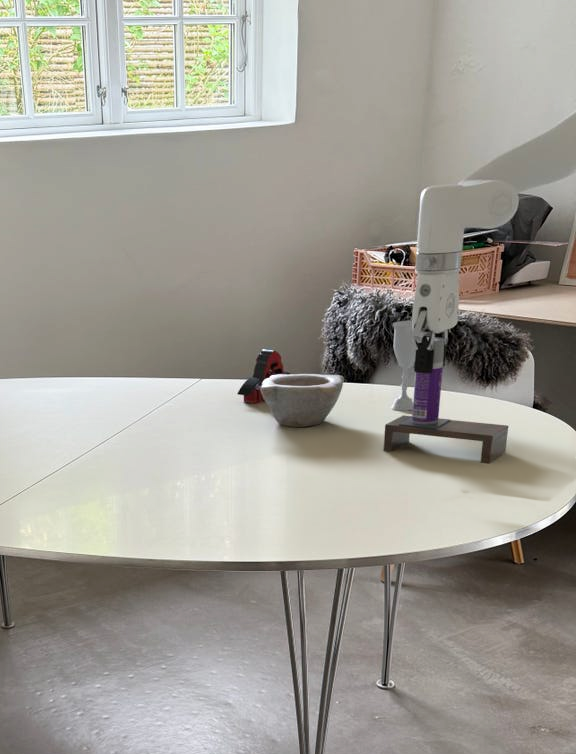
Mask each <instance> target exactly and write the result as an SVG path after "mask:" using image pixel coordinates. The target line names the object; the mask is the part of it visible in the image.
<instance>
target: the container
mask: <svg viewBox="0 0 576 754" xmlns="http://www.w3.org/2000/svg"><path fill="white" fill-rule="evenodd" d="M426 337H427V339H428V340H429V336H426ZM444 345H445V344H444V338H441V337H434V342H433V348H432V350H434V361H433V371H432V372H431V373H417V372H415V371H414V386H413V398H412V402H413V410H412V413H411V416H412V422H413V423H415V424H421V425H429V424H435V423H437V422H438V418H439V416H440V404H441V395H442V394H441V393H442V391H441V390H442V382H443V381H442V380H443V371H444V370H443V369H444V367H443V355H444Z"/></svg>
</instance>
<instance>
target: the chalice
mask: <svg viewBox="0 0 576 754" xmlns="http://www.w3.org/2000/svg"><path fill="white" fill-rule="evenodd" d="M392 326H393V331H394V333H393V346H392V348H393V351H394V356H395V359H396V361H397V364H398V366H399V367H400V368H403V373H402V376H401V379H402V383H401V384H400V387H401V391H402V392H401V393H400V396H396V398H395V399H394V402H393V403H392V404H393V405H391V408H390V409H391V410H394V411H400V412H403V411H404V412H405V411H413V398H412V397H411V396H408V394H407V393H408V392H407V389H408V387H409V386H410V385H409V384H408V379H409V378H410V375H409V368H411V367H413V366H414V365H415V355H416V350H415V345H416V342H415V339H414V337H413V332H414V331H413V329H412V320H401V321H394V322H393V323H392Z"/></svg>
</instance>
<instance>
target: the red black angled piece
mask: <svg viewBox="0 0 576 754" xmlns="http://www.w3.org/2000/svg"><path fill="white" fill-rule="evenodd" d="M255 362H256V363H255V365H254V369H253V374H252V377H251V376H249V378H247V379H246V380H245V382H244V383H243V384H242V385H241V387H240V388H239V389H238V392H237V393H236V394H237V395H239V396H243V402H244V403H248V404H249V403H250V404H259V403H261V402H264V401H265V400H264V398H263V396H262V394H261V387H262V382H263V381H264V380H265V379H267V378H270V376H272V375H278V374H287V375H290V374H291V372H288V371H284V365H283V363H282V356H281V354H280V352H278V351H276V350H273V349H262V350H261V351H260V353H259V354H258V356H257V357H256V359H255Z"/></svg>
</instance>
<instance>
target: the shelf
mask: <svg viewBox="0 0 576 754" xmlns="http://www.w3.org/2000/svg"><path fill="white" fill-rule="evenodd" d="M508 432H509V425H506V424H497V423H487V422H486V423H485V422H475V421H465V420H454V419H450V418H449V419H448V418H439V417H438V422H437V423H435V424H429V425H421V424H415V423H413V422H412V415H405V414H404V415H401V416H399V417H397V418H395V419H394V420H391V421H390V422H387V423H386V424H385V425H384V437H383V438H384V439H383V451H384V452H393V451H395V450H397V449H398V448H400V447H402V446H404V445H406V444H407V443H410V434H411V435H421V436H429V437H439V438H448V439H456V440H457V439H458V440H465V441H466V440H467V441H475V442H482V446H481V453H480V454H481V455H480V464H481V463H482V464H491V463H492V462H494V461H495V460H497V459H498V458H500V457H502V455H504V454H505V453H506V449H507V443H508Z"/></svg>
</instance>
